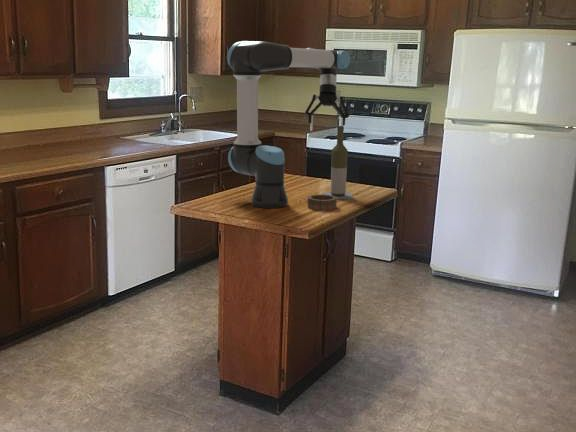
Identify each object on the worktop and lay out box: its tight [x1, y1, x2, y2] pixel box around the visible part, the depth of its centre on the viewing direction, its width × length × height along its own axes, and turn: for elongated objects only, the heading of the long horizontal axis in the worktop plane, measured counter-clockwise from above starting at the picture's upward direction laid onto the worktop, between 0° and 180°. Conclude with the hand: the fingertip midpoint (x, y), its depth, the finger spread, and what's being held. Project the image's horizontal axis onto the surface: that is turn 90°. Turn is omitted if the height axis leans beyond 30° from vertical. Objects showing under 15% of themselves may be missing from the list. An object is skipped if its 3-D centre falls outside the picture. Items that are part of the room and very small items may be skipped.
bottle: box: [330, 125, 349, 196], centre depth 277 cm, size 7×7×30 cm
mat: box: [322, 191, 355, 201], centre depth 281 cm, size 12×12×1 cm
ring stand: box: [307, 194, 338, 211], centre depth 260 cm, size 11×11×4 cm
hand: (326, 131), depth 290 cm, fingers open, 13 cm apart
